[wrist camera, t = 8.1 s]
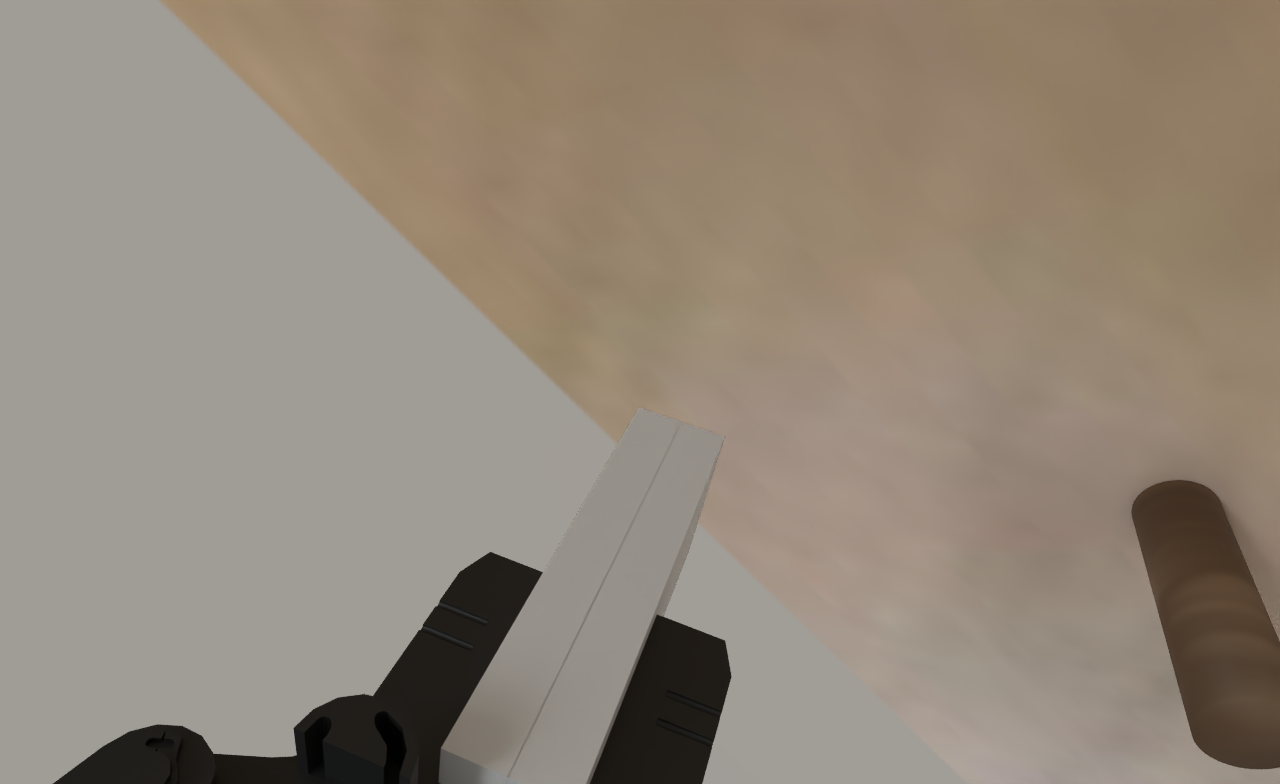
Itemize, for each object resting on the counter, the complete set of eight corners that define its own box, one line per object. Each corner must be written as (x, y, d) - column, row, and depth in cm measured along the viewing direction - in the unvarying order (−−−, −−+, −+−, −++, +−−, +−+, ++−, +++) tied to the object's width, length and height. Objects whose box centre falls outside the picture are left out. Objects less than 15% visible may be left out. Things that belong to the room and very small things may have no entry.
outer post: (1157, 469, 27) (1230, 683, 20) (1239, 497, 27) (1343, 725, 20) (1116, 525, 29) (1170, 742, 21) (1193, 551, 28) (1275, 782, 21)
